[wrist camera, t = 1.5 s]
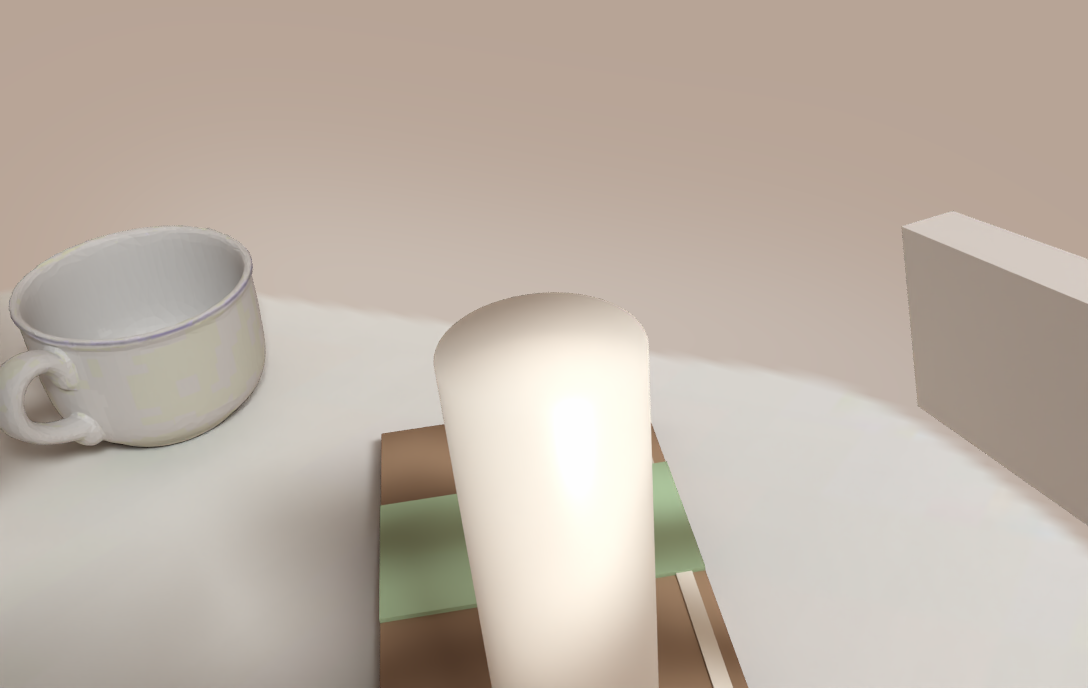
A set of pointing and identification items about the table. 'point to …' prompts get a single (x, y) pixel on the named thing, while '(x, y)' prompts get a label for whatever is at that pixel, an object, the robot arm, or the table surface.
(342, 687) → the table surface
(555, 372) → the tuning slider
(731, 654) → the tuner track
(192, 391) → the teacup
